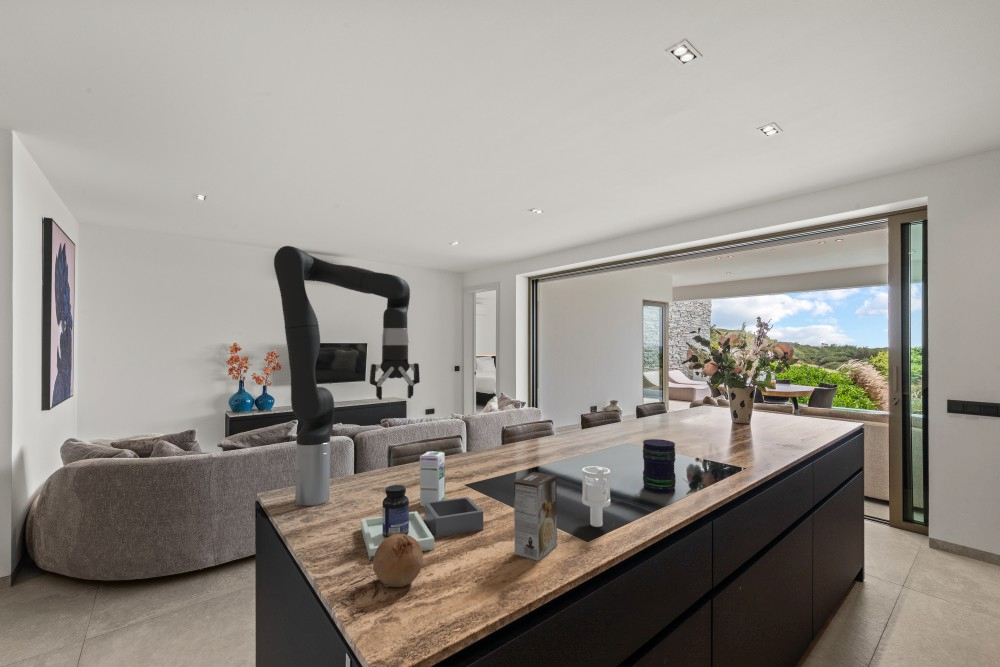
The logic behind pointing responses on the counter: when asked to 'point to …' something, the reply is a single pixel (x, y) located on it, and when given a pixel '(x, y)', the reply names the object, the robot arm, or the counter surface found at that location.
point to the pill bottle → (395, 511)
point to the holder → (453, 516)
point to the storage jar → (659, 466)
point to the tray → (374, 538)
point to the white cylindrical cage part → (596, 492)
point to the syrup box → (432, 477)
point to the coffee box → (535, 515)
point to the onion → (398, 560)
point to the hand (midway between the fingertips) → (394, 398)
